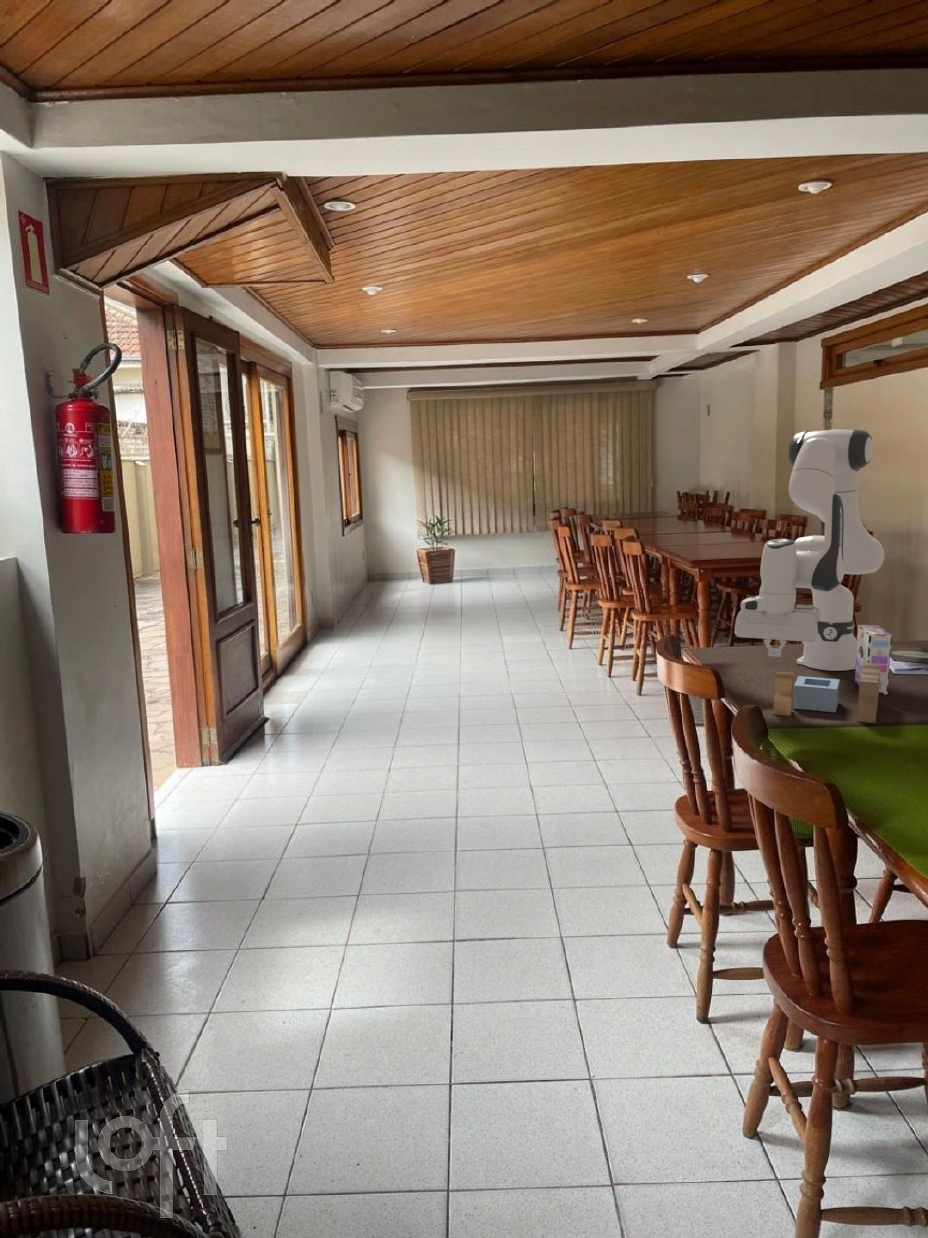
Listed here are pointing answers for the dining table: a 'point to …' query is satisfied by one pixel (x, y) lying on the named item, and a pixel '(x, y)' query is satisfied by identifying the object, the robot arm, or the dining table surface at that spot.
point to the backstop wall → (868, 692)
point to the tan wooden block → (783, 693)
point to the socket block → (816, 694)
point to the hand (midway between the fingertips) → (774, 656)
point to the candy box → (874, 652)
